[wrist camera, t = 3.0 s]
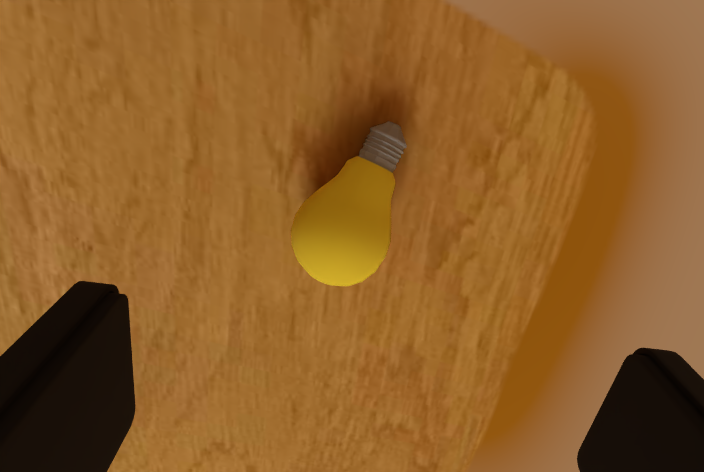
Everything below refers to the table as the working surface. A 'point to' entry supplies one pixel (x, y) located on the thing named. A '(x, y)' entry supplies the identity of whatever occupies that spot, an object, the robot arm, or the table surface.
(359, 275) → the light bulb
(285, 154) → the table surface
